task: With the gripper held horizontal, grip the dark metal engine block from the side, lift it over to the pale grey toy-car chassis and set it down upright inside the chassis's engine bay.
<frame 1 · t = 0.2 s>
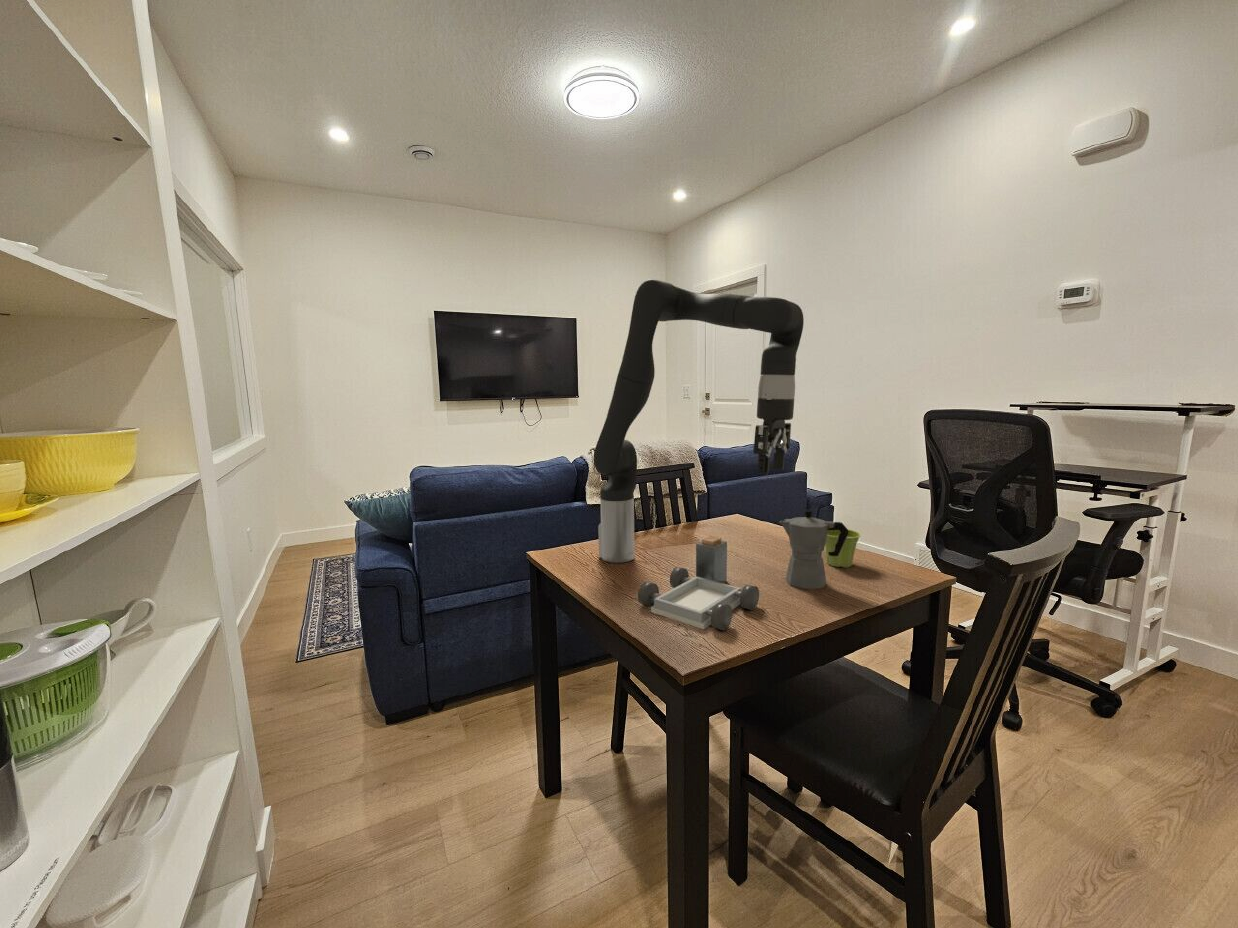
hand: (770, 471, 112), 29 cm above the table, tool pointing down, fingers open, 8 cm apart
engine block: (711, 582, 125), on the table
coffeepot: (810, 584, 123), on the table
chassis: (698, 606, 111), on the table
plant pot: (839, 564, 136), on the table
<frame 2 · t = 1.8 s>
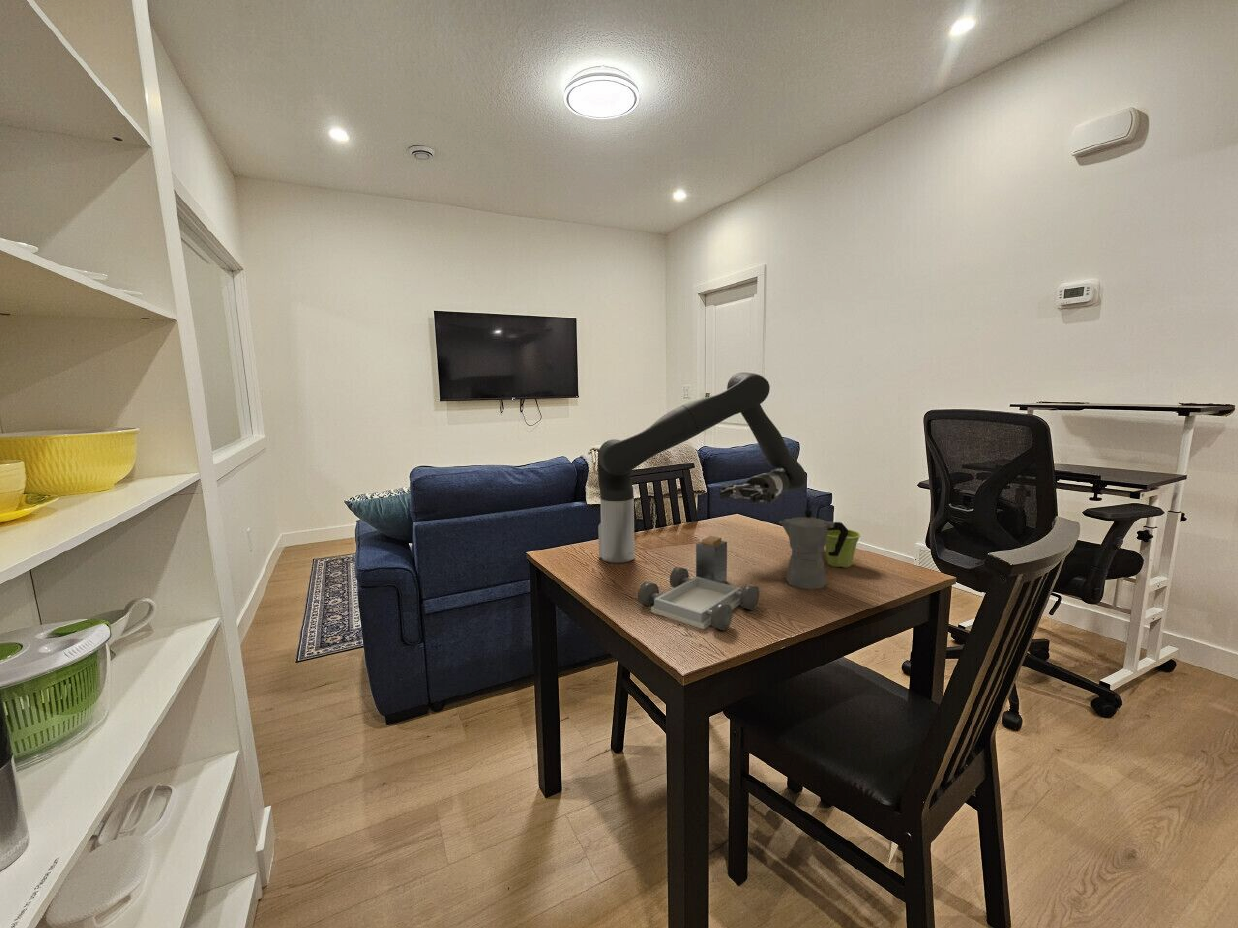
hand: (736, 497, 131), 19 cm above the table, tool horizontal, fingers open, 8 cm apart
nothing on the table moved.
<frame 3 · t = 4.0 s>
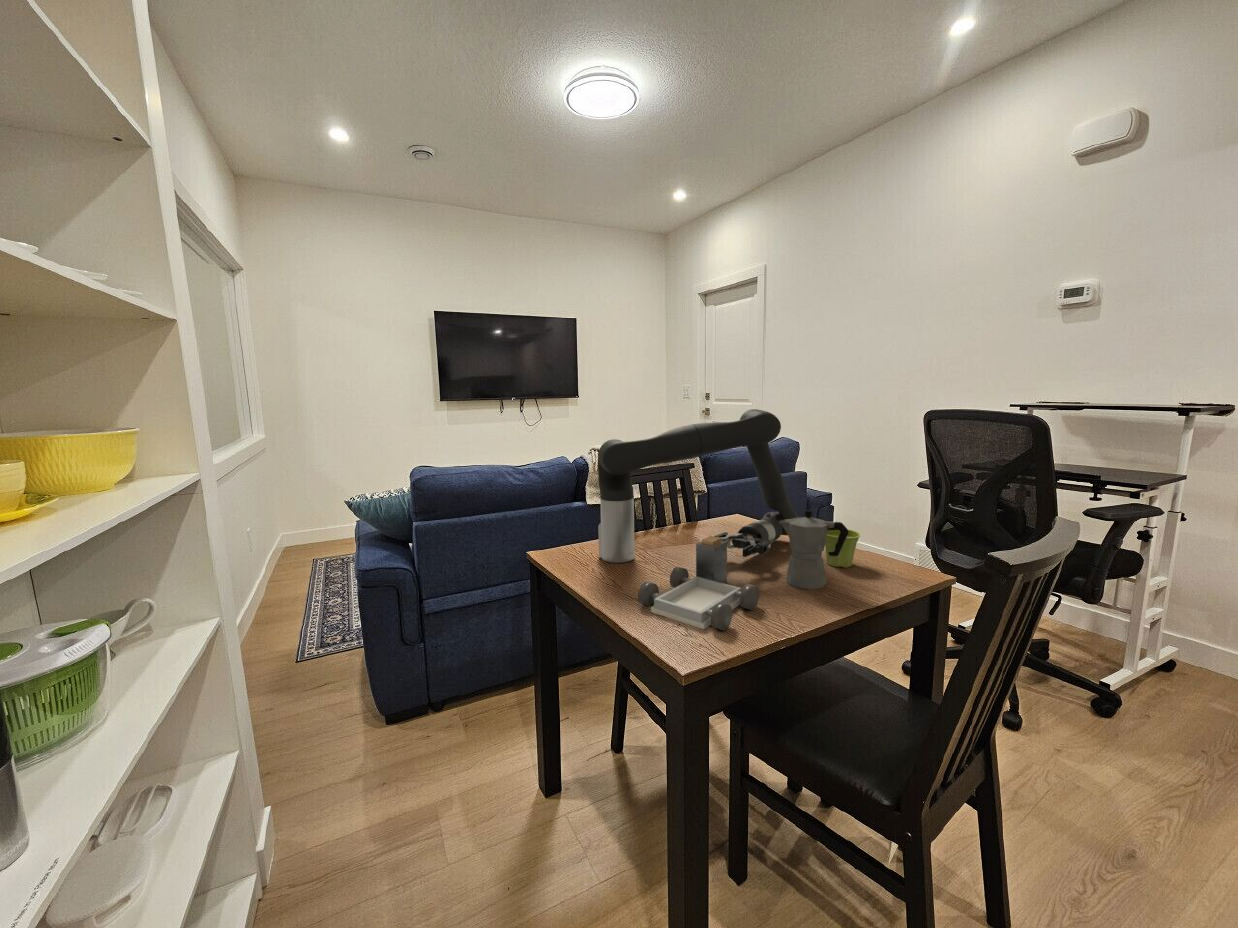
hand: (728, 549, 131), 6 cm above the table, tool horizontal, fingers open, 8 cm apart
nothing on the table moved.
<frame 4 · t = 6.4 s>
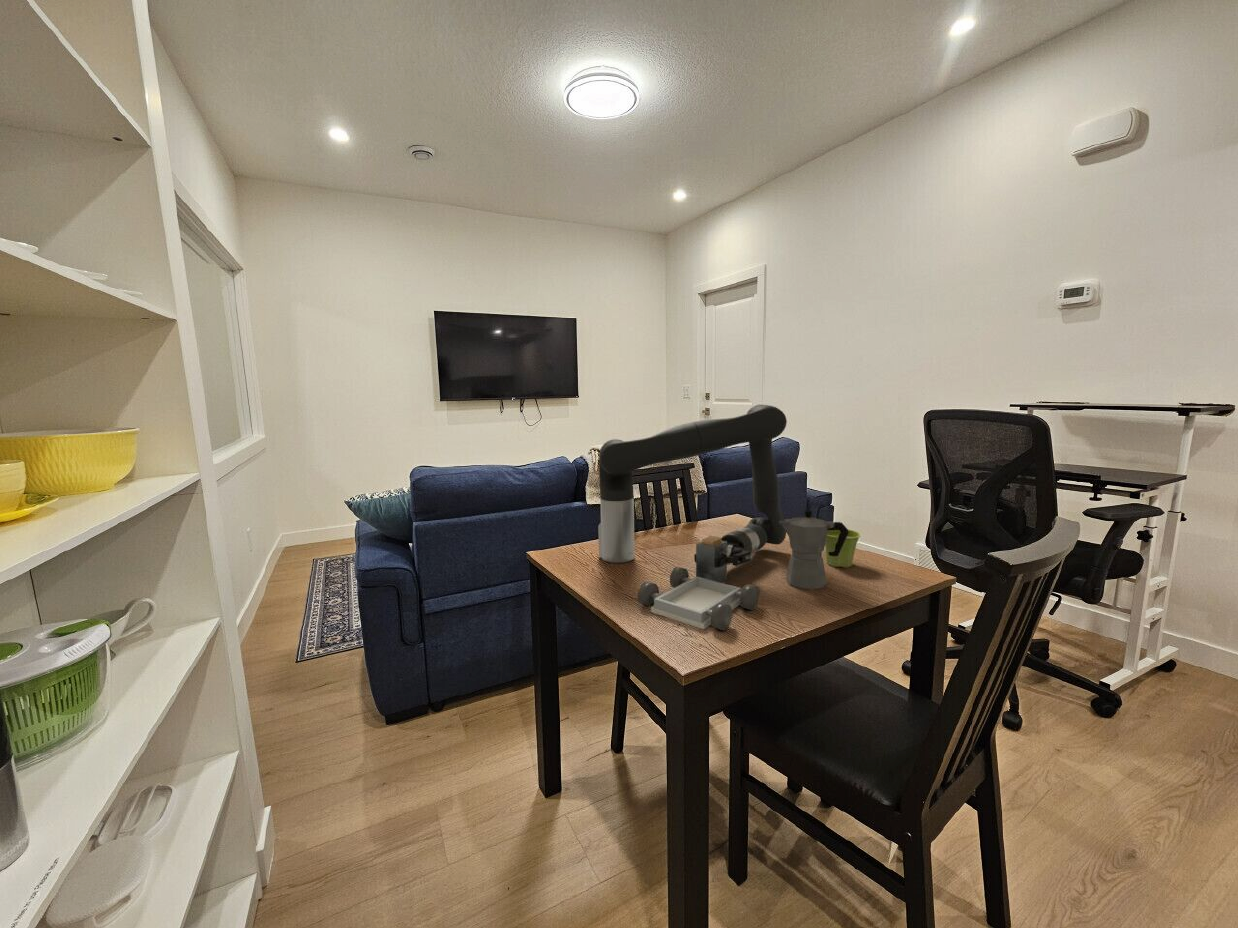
hand: (706, 561, 122), 6 cm above the table, tool horizontal, fingers closed on engine block, 5 cm apart
engine block: (711, 582, 125), on the table, touching gripper
everything else where it was.
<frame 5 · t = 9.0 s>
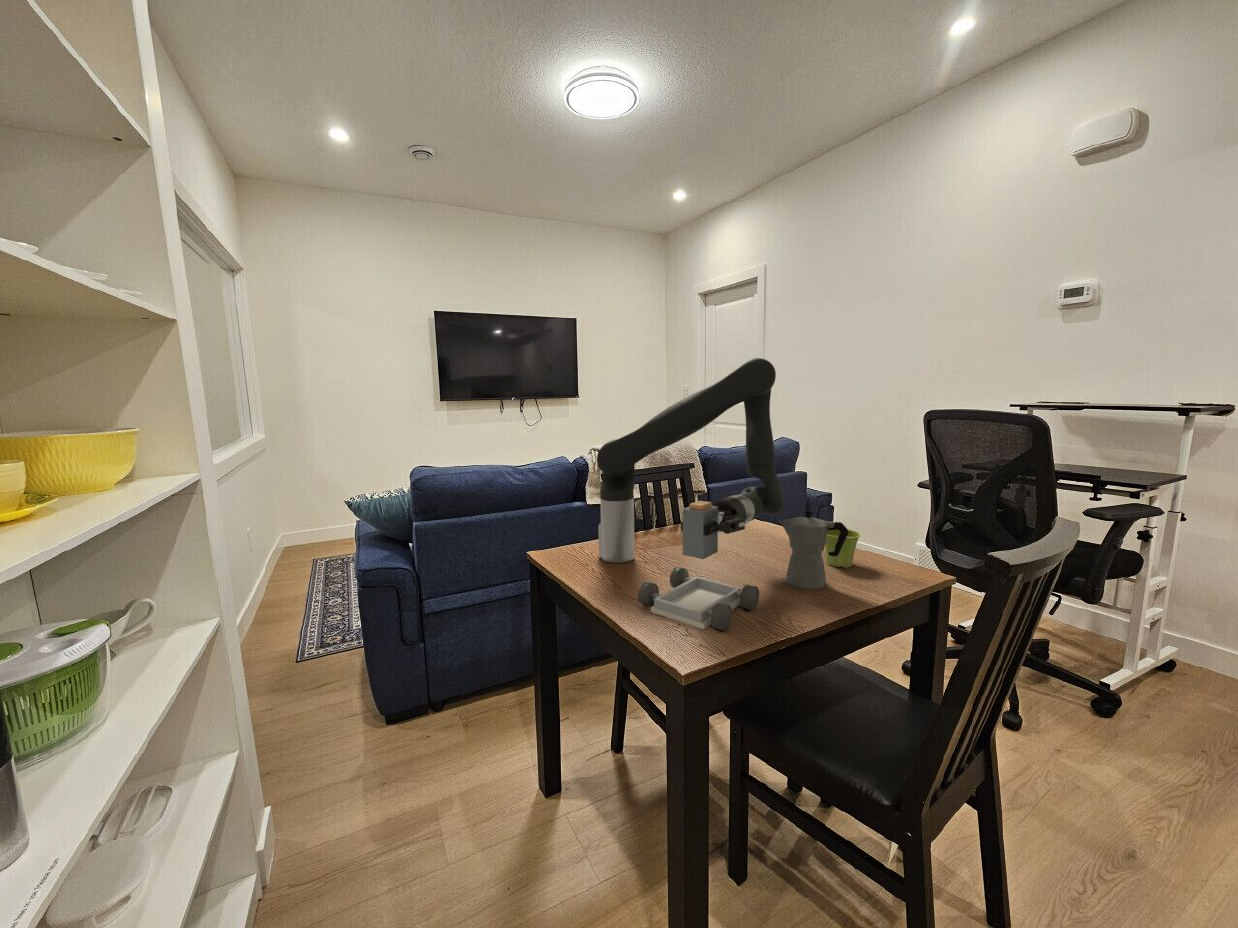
hand: (694, 528, 107), 18 cm above the table, tool horizontal, fingers closed on engine block, 5 cm apart
engine block: (700, 553, 110), point 12 cm above the table, touching gripper
everything else where it was.
when the fingers open (8 cm above the table, at t = 11.7 s): engine block drops 1 cm, resting on chassis.
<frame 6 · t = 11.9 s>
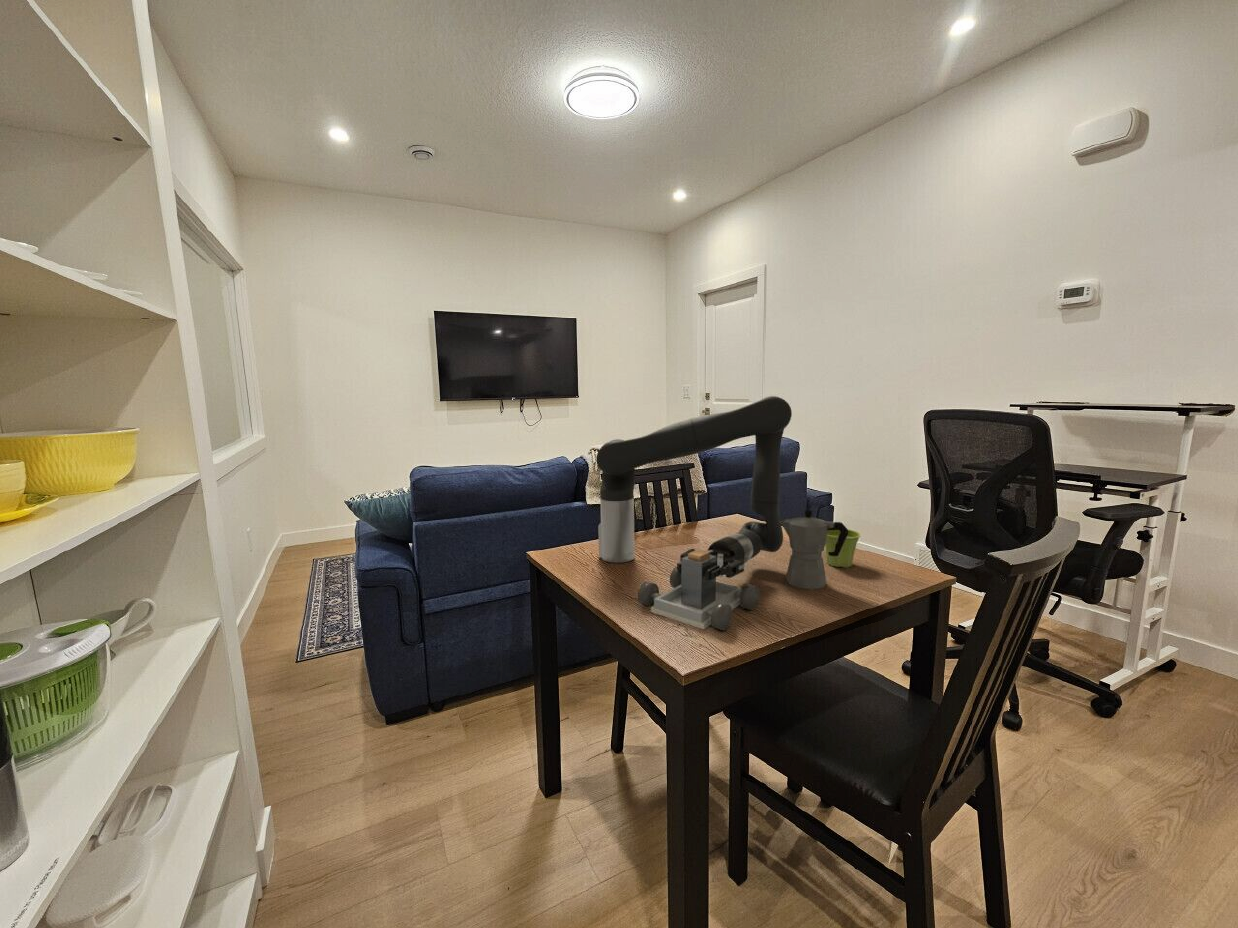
hand: (692, 571, 108), 8 cm above the table, tool horizontal, fingers open, 6 cm apart
engine block: (698, 601, 111), point 1 cm above the table, touching chassis
everything else where it was.
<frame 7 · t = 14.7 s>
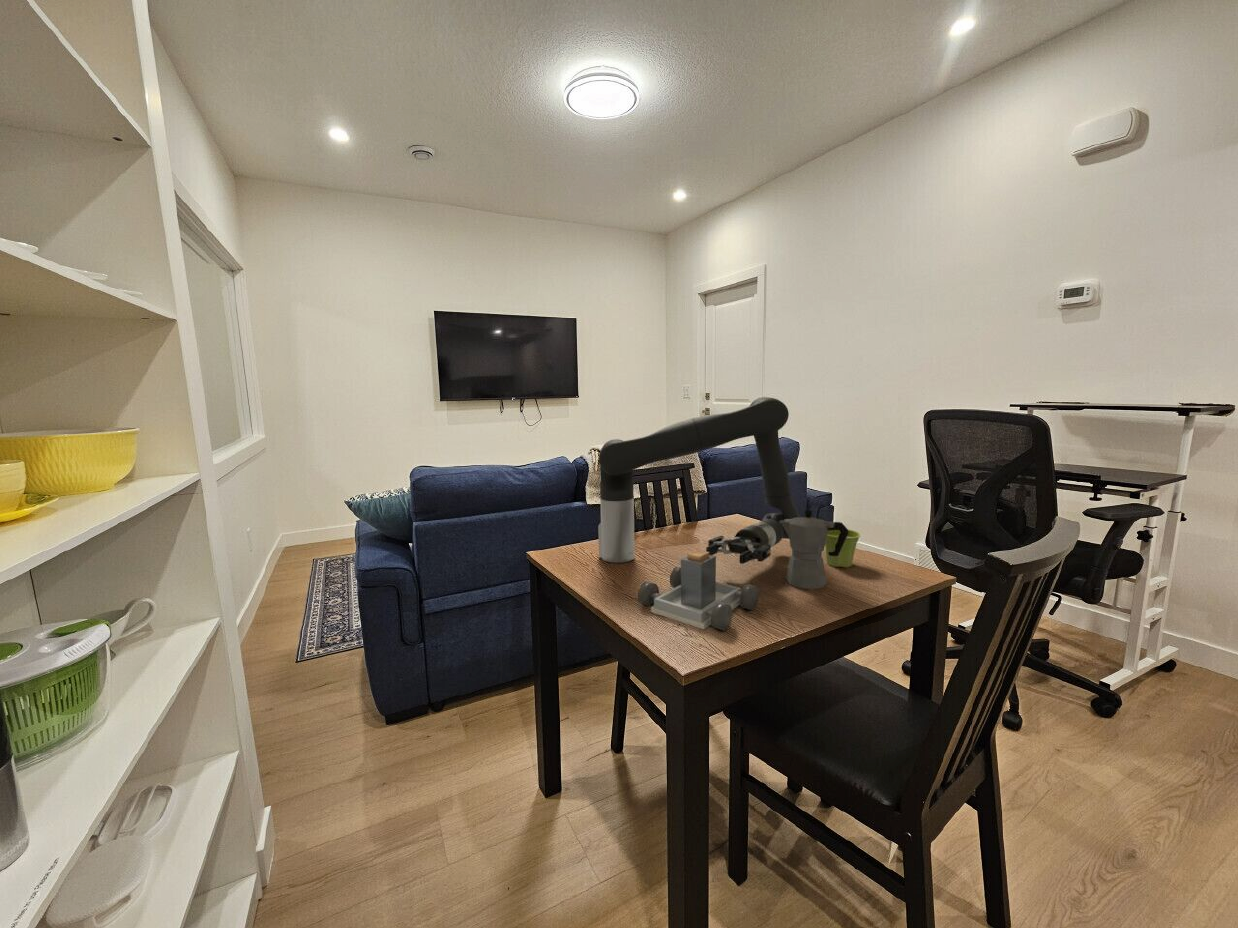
hand: (724, 555, 118), 9 cm above the table, tool horizontal, fingers open, 8 cm apart
nothing on the table moved.
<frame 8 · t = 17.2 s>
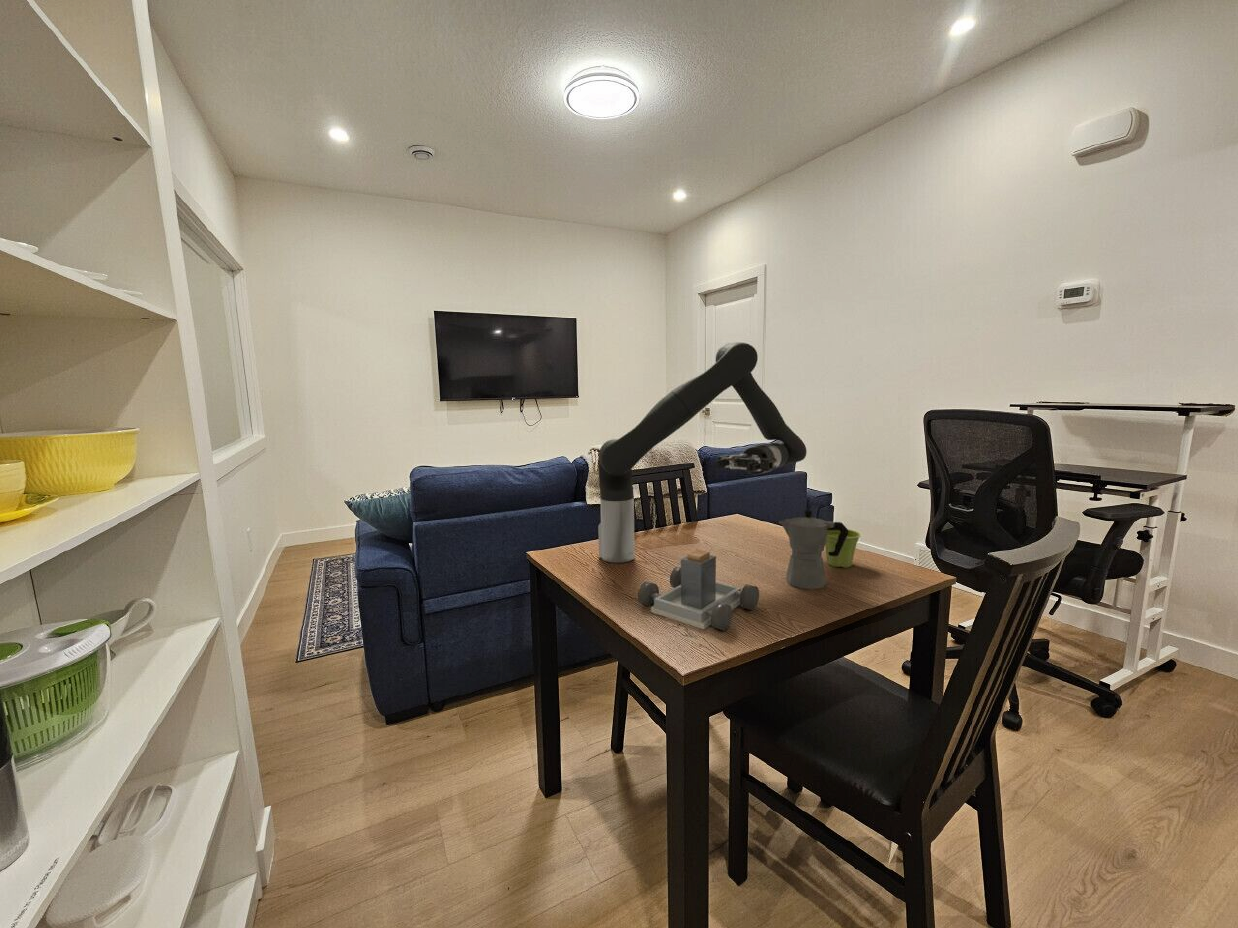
hand: (732, 466, 124), 28 cm above the table, tool horizontal, fingers open, 8 cm apart
nothing on the table moved.
at the end: engine block 0.0 cm off-centre on the chassis, point 1.0 cm above the chassis's base; engine block tilted 0°; the gripper is holding nothing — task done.
